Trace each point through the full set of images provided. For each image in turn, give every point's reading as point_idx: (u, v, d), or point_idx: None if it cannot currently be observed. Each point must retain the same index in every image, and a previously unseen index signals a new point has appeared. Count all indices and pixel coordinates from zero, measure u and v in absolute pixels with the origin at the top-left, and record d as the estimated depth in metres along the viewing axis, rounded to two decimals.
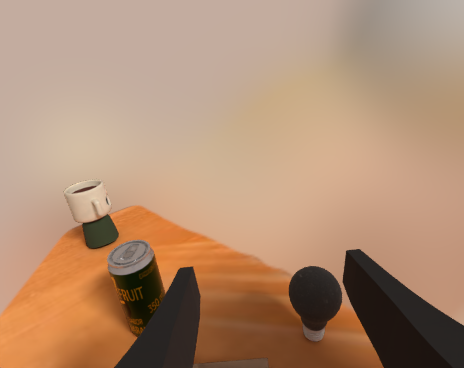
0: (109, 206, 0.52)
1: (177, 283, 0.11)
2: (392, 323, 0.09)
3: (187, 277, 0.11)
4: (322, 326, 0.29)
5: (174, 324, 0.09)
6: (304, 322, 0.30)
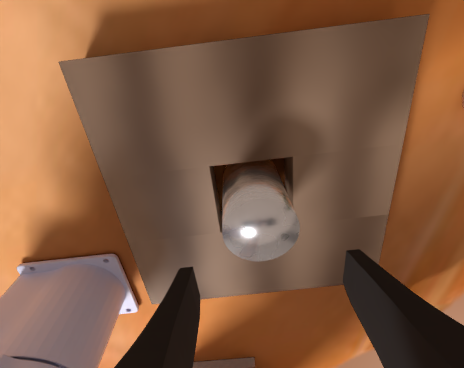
0: None
1: (177, 283, 0.11)
2: (392, 323, 0.09)
3: (187, 277, 0.11)
4: None
5: (174, 324, 0.09)
6: None
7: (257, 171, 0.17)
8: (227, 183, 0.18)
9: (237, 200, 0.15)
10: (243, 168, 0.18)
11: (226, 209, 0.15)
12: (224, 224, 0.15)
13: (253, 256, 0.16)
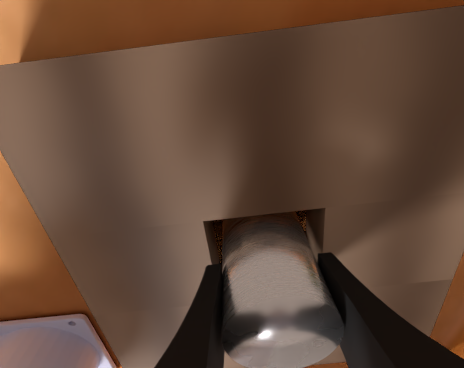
0: None
1: (207, 280, 0.11)
2: (354, 327, 0.09)
3: (217, 274, 0.11)
4: None
5: (211, 320, 0.09)
6: None
7: (273, 230, 0.12)
8: (229, 244, 0.12)
9: (246, 291, 0.09)
10: (253, 222, 0.12)
11: (228, 300, 0.10)
12: (225, 329, 0.09)
13: (270, 366, 0.10)
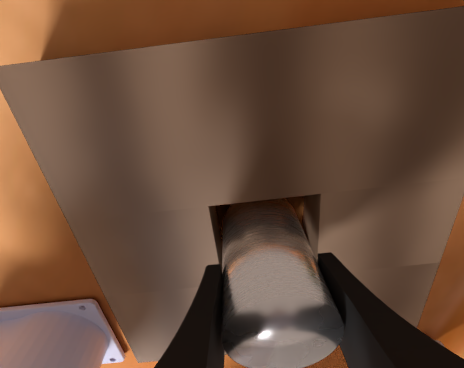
0: None
1: (207, 280, 0.11)
2: (354, 327, 0.09)
3: (217, 274, 0.11)
4: None
5: (211, 320, 0.09)
6: None
7: (273, 230, 0.12)
8: (229, 244, 0.12)
9: (246, 291, 0.09)
10: (252, 222, 0.12)
11: (228, 300, 0.10)
12: (225, 329, 0.09)
13: (270, 366, 0.10)
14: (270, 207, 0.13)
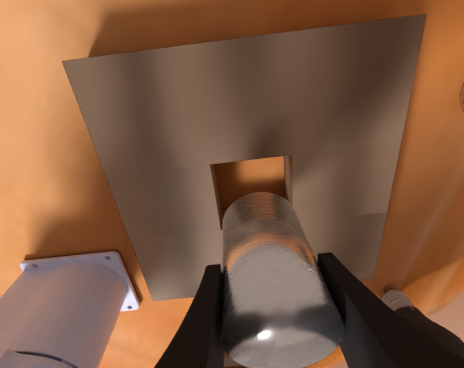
0: None
1: (207, 280, 0.11)
2: (354, 327, 0.09)
3: (217, 274, 0.11)
4: None
5: (211, 320, 0.09)
6: (403, 314, 0.25)
7: (273, 230, 0.12)
8: (229, 244, 0.12)
9: (246, 291, 0.09)
10: (252, 222, 0.12)
11: (228, 300, 0.10)
12: (225, 329, 0.09)
13: (270, 366, 0.10)
14: (270, 207, 0.13)
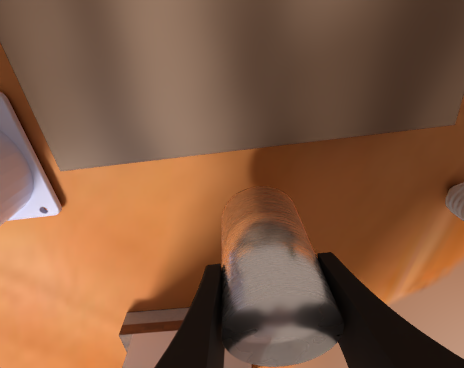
0: None
1: (207, 280, 0.11)
2: (354, 327, 0.09)
3: (217, 274, 0.11)
4: None
5: (211, 320, 0.09)
6: None
7: (273, 226, 0.12)
8: (228, 240, 0.12)
9: (245, 289, 0.09)
10: (252, 218, 0.12)
11: (227, 298, 0.10)
12: (225, 327, 0.09)
13: (269, 361, 0.11)
14: (270, 202, 0.13)
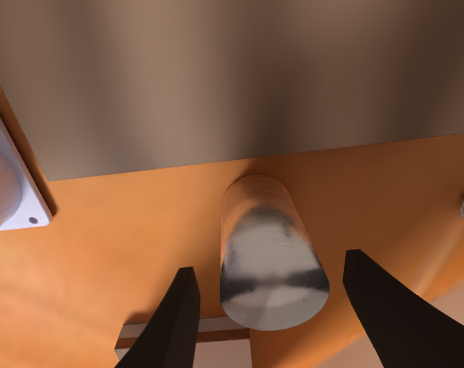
0: None
1: (177, 283, 0.11)
2: (392, 323, 0.09)
3: (187, 277, 0.11)
4: None
5: (174, 324, 0.09)
6: None
7: (267, 204, 0.13)
8: (227, 218, 0.14)
9: (241, 253, 0.10)
10: (248, 198, 0.14)
11: (226, 263, 0.11)
12: (223, 287, 0.10)
13: (264, 324, 0.12)
14: (265, 186, 0.15)
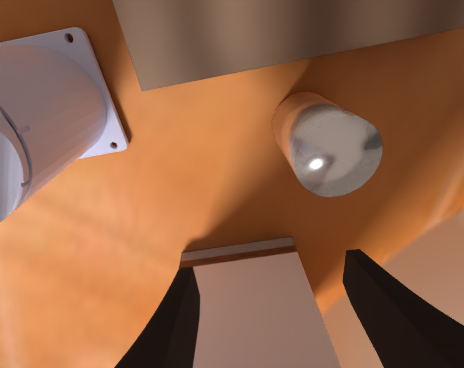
0: None
1: (177, 283, 0.11)
2: (392, 323, 0.09)
3: (187, 277, 0.11)
4: None
5: (174, 324, 0.09)
6: None
7: (321, 101, 0.15)
8: (286, 119, 0.16)
9: (311, 123, 0.13)
10: (303, 101, 0.16)
11: (297, 137, 0.14)
12: (298, 151, 0.13)
13: (327, 190, 0.14)
14: (314, 95, 0.17)
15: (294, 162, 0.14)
